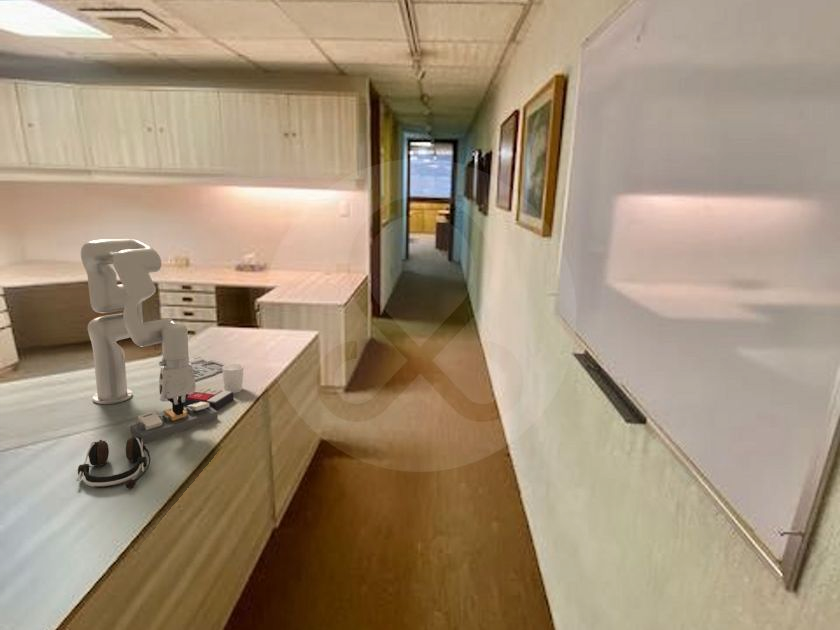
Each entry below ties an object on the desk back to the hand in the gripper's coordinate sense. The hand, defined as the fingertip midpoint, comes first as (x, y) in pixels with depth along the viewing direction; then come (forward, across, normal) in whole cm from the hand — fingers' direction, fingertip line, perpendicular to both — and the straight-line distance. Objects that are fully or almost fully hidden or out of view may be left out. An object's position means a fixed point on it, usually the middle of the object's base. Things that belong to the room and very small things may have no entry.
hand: (178, 413), depth 159 cm
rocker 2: (+1, +8, +2) cm, 8 cm away
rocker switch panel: (+6, 0, +2) cm, 6 cm away
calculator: (+6, +17, +12) cm, 22 cm away
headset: (+6, -24, -13) cm, 28 cm away
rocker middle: (+1, 0, +2) cm, 2 cm away
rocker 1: (+1, -8, +2) cm, 8 cm away
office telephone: (+6, +31, +47) cm, 56 cm away
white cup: (+6, +30, +17) cm, 35 cm away
